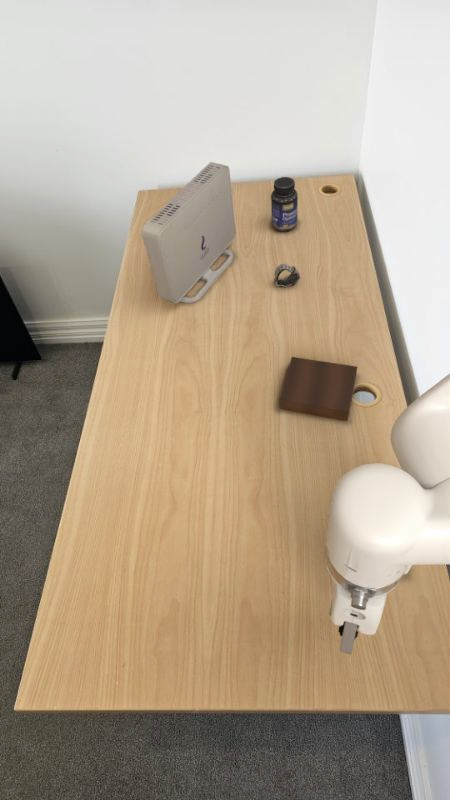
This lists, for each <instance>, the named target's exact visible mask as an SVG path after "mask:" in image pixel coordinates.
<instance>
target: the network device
mask: <svg viewBox="0 0 450 800" xmlns="http://www.w3.org/2000/svg"><path fill="white" fill-rule="evenodd" d="M230 170H231V169H230V167H229V166H228V165H226V164H221V163H217V162H214V161H213V162H212V161H210V162H209V163H208V164H206V165H205V167H203V168H202V169H201V170H200V171H199V172H198V173H197V174H196V175H195V176H194V177H193V178H192V179H191V180H189V182H188V183H186V184H185V185H184V186H183V187H182V188H181V189H180V190H179V191H178V192H177V193H176V194H175V195H173V196H172V198H171V199H170V200H169V201H167V202H166V204H165V205H163V206H162V207H161V208H160V209H159V210H158V211H157V212H156V213H155V214H154V215H153V216H152V217H150V219H149V220H148V221H147V222H146V223H144V225H143V226H142V229H141V237H142V241H143V244H144V247H145V251H146V255H147V258H148V261H149V265H150V268H151V272H152V275H153V281H154V282H155V283H154V284H155V287H156V290H157V294H158V297H159V298H160V299H162V300H165V301H168V302H170V303H173V304H178V303H180V302H181V303H184V304H192V303H195V302H198V301H200V299H201V298H202V297H203V296H204V295H205V294H206V293H207V291H208V290H209V289H210V288H211V287H212V286H213V285H214V283H215V282H216V281H217V280H218V279H219V277H221V275H222V274H223V273H224V272H225V271H226V269H227V268H228V267H229V266H230V265H231V263H233V261H234V253H233V251H231V250H230V249H228V247H229V246H230V245H231V244H232V243H233V241H234V240H235V238H236V234H237V230H236V220H235V219H236V218H235V213H234V212H235V209H234V200H233V189H232V181H231V172H230ZM221 255H226V256H228V258H227V259H226V260H225V261H224V263H223V264H221V266H220V267H219V268H218V269H216V270H212V269H211V267H212V265H213V264H214V263H215V262H216V261H217V260H218V259H219V258H220V256H221ZM199 280H203V281H205V282H206V283H205V284H204V285H203V287H202V288H201V289H200V290H199V291H198V292H197V294H195V295H194V296H192V297H189V296H186V295H187V293H189V291H190V290H191V289H192V288H193V287H194V286H195V285H196V283H198V282H199Z"/></svg>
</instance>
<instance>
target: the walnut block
mask: <svg viewBox="0 0 450 800" xmlns="http://www.w3.org/2000/svg"><path fill="white" fill-rule="evenodd" d="M357 373H358V366H355V365H349V364H343V363H336V362H329V361H323V360H317V359H316V360H315V359H310V358H305V357H304V358H302V357H297V356H291V358H290V362H289V365H288V368H287V372H286V376H285V379H284V382H283V386H282V389H281V393H280V397H279V409H280V410H283V411H289V412H295V413H301V414H308V415H312V416H316V417H317V416H318V417H322V418H329V419H335V420H341V421H346V422H348V421H349V418H350V417H349V416H350V411H351V406H352V400H353V395H354V390H355V383H356V379H357V378H356V377H357Z"/></svg>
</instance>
